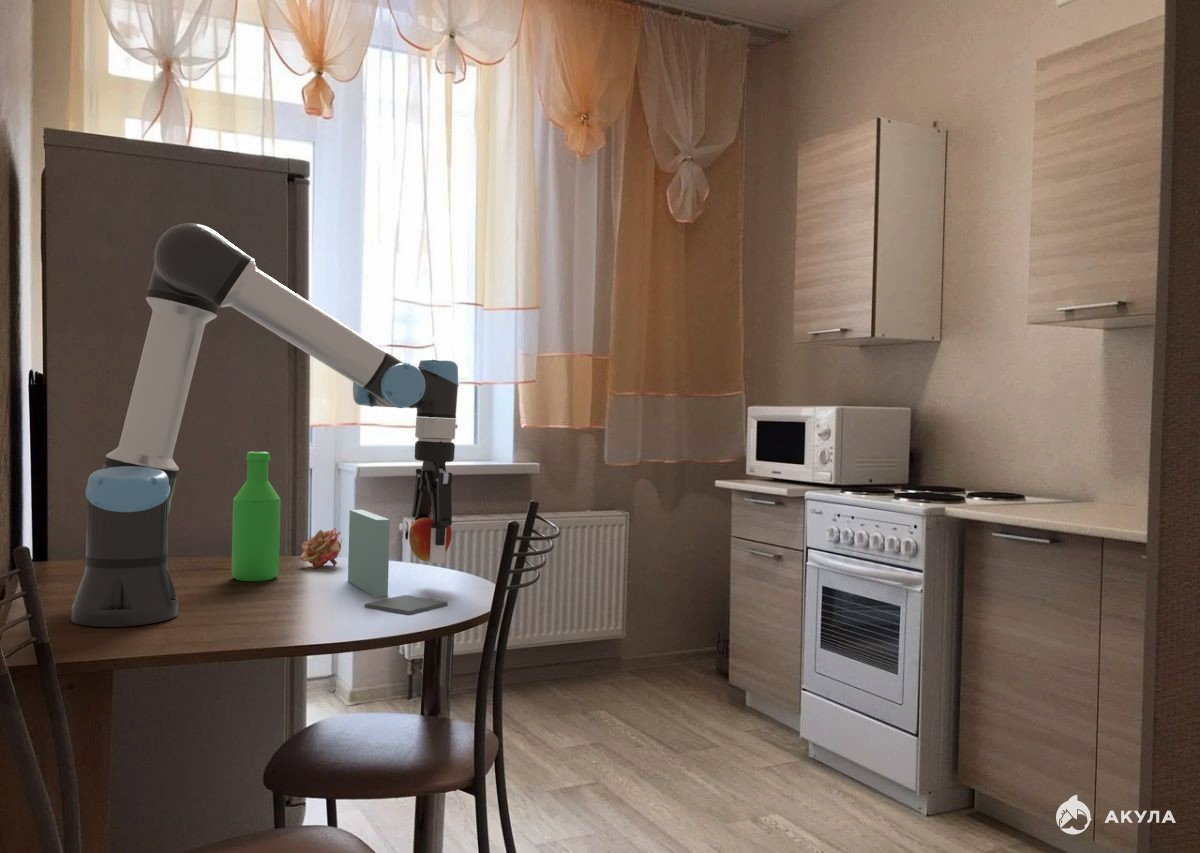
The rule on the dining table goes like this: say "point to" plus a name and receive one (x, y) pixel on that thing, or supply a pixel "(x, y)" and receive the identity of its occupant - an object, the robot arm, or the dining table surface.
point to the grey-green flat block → (369, 552)
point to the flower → (321, 548)
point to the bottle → (256, 524)
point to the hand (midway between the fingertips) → (429, 558)
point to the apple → (424, 537)
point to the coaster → (406, 604)
